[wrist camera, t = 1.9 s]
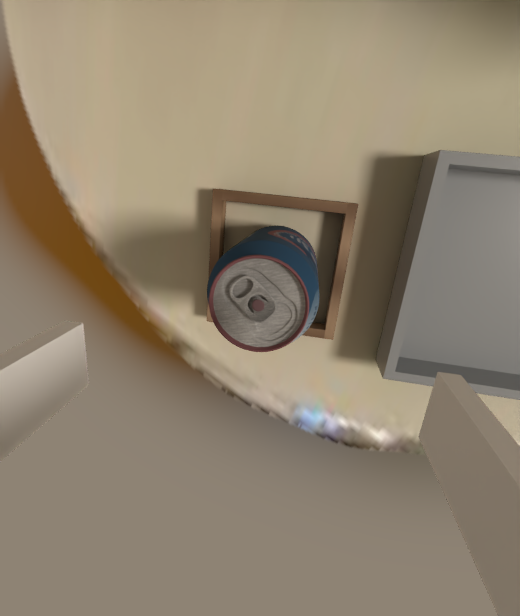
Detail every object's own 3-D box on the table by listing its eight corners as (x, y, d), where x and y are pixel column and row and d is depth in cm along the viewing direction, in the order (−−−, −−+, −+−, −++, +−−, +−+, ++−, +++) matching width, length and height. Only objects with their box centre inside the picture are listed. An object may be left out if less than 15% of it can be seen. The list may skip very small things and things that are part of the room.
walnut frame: (217, 188, 29) (212, 188, 28) (355, 203, 28) (358, 204, 26) (211, 315, 33) (206, 321, 31) (332, 333, 32) (332, 339, 30)
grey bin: (424, 155, 26) (440, 150, 23) (680, 178, 24) (737, 176, 21) (375, 359, 32) (382, 378, 29) (578, 389, 30) (610, 414, 27)
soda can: (333, 267, 30) (347, 313, 18) (275, 315, 32) (255, 382, 21) (280, 206, 29) (260, 216, 17) (223, 261, 31) (173, 300, 20)
